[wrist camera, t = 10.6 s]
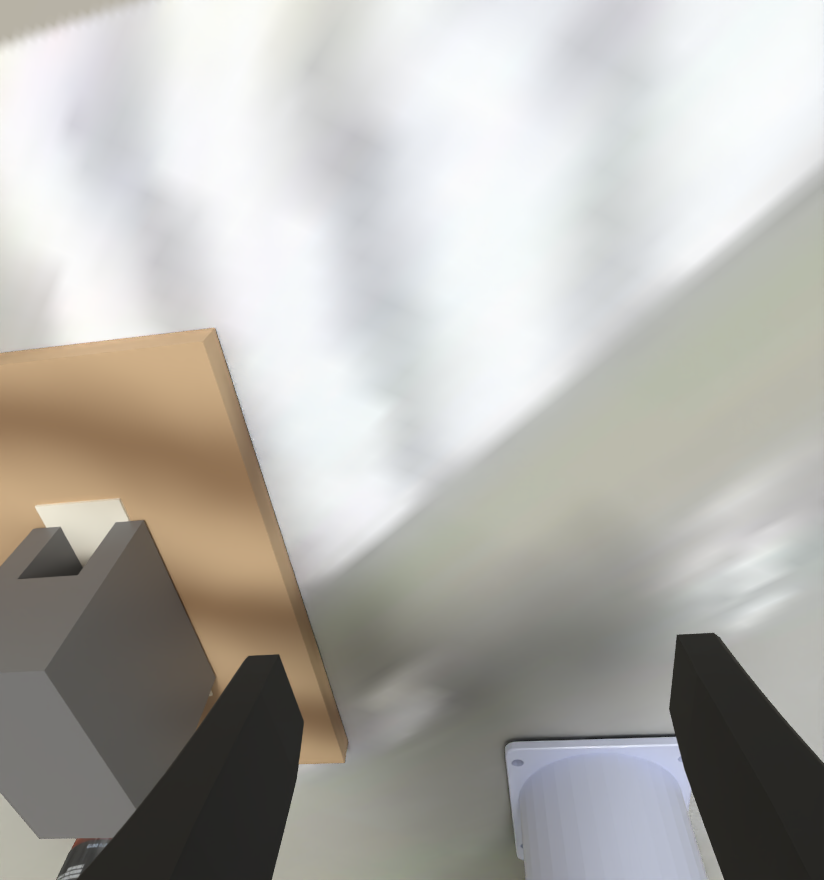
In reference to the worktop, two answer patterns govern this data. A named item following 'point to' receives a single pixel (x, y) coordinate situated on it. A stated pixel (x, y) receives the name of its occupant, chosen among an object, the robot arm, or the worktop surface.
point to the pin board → (163, 495)
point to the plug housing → (92, 680)
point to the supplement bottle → (81, 856)
